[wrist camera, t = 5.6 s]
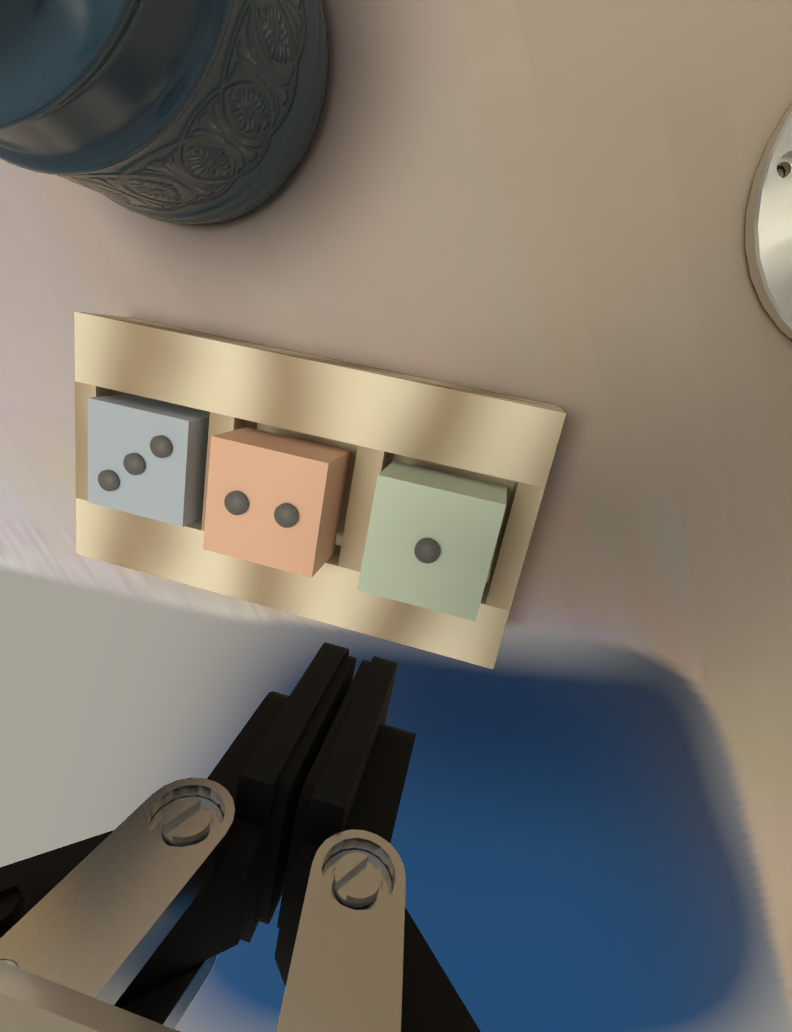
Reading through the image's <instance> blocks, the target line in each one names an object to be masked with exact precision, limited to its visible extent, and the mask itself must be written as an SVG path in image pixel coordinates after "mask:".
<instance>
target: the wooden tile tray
mask: <svg viewBox="0 0 792 1032" xmlns="http://www.w3.org/2000/svg"><path fill="white" fill-rule="evenodd" d="M74 318H75V431H76V544H77V554H79V555H82V556H86V557H90V558H93V559H97V560H101V561H104V562H108V563H111V564H115V565H119V566H122V567H126V568H129V569H133V570H137V571H140V572H144V573H147V574H151V575H155V576H158V577H162V578H166V579H169V580H173V581H176V582H180V583H184V584H187V585H191V586H194V587H198V588H202V589H205V590H209V591H212V592H216V593H220V594H223V595H227V596H231V597H234V598H238V599H241V600H245V601H249V602H252V603H256V604H259V605H263V606H267V607H270V608H274V609H277V610H281V611H285V612H288V613H292V614H296V615H299V616H303V617H306V618H310V619H314V620H317V621H321V622H324V623H328V624H332V625H335V626H339V627H342V628H346V629H350V630H353V631H357V632H361V633H364V634H368V635H371V636H375V637H379V638H382V639H386V640H389V641H393V642H397V643H400V644H404V645H408V646H411V647H415V648H418V649H422V650H426V651H429V652H433V653H436V654H440V655H444V656H447V657H451V658H454V659H458V660H462V661H465V662H469V663H473V664H476V665H480V666H483V667H487V668H491V669H493V668H494V665H495V661H496V657H497V654H498V650H499V647H500V644H501V640H502V636H503V633H504V630H505V626H506V623H507V619H508V616H509V612H510V609H511V605H512V602H513V598H514V595H515V591H516V588H517V584H518V581H519V577H520V574H521V570H522V567H523V563H524V560H525V556H526V553H527V549H528V546H529V542H530V539H531V535H532V532H533V528H534V525H535V521H536V518H537V514H538V511H539V507H540V504H541V500H542V497H543V493H544V490H545V486H546V483H547V479H548V476H549V473H550V469H551V466H552V462H553V459H554V455H555V452H556V448H557V445H558V441H559V438H560V434H561V431H562V427H563V424H564V420H565V417H566V412H565V411H563V410H562V409H561V408H560V407H559V406H557V405H552V404H547V403H543V402H538V401H533V400H528V399H523V398H518V397H513V396H508V395H504V394H499V393H494V392H489V391H484V390H479V389H474V388H470V387H465V386H460V385H455V384H450V383H445V382H440V381H435V380H431V379H426V378H421V377H416V376H411V375H406V374H401V373H396V372H392V371H387V370H382V369H377V368H372V367H367V366H362V365H358V364H353V363H348V362H343V361H338V360H333V359H328V358H323V357H319V356H314V355H309V354H304V353H299V352H294V351H289V350H284V349H280V348H275V347H270V346H265V345H260V344H255V343H250V342H246V341H241V340H236V339H231V338H226V337H221V336H216V335H211V334H207V333H202V332H197V331H192V330H187V329H182V328H177V327H172V326H168V325H163V324H158V323H153V322H148V321H143V320H138V319H134V318H129V317H120V316H111V315H102V314H92V313H83V312H74ZM123 394H134V395H138V396H142V397H147V398H151V399H156V400H160V401H164V402H169V403H173V404H178V405H182V406H186V407H191V408H195V409H200V410H204V411H208V412H210V417H209V431H208V445H207V459H206V473H205V486H204V500H203V514H202V517H201V518H199V519H197V520H195V521H193V522H191V523H189V524H187V525H185V526H184V527H181V526H177V525H173V524H169V523H165V522H161V521H158V520H154V519H150V518H146V517H142V516H139V515H135V514H131V513H127V512H123V511H119V510H116V509H112V508H108V507H104V506H100V505H96V504H93V503H89V502H88V398H90V397H101V396H112V395H123ZM244 427H248V428H253V429H257V430H261V431H266V432H270V433H274V434H279V435H283V436H287V437H292V438H296V439H301V440H305V441H309V442H314V443H318V444H322V445H327V446H331V447H336V448H340V449H344V450H349V451H350V455H349V462H348V468H347V474H346V480H345V487H344V493H343V499H342V505H341V512H340V518H339V524H338V530H337V537H336V543H335V549H334V554H333V555H332V556H331V557H330V558H329V559H328V560H327V561H326V563H325V564H324V565H323V566H322V567H321V568H320V569H319V570H318V572H317V573H316V574H315V575H314V576H313V577H312V578H310V577H306V576H302V575H298V574H295V573H291V572H287V571H283V570H280V569H276V568H272V567H268V566H265V565H261V564H257V563H253V562H250V561H246V560H242V559H238V558H235V557H231V556H227V555H223V554H219V553H216V552H212V551H208V550H204V549H203V541H204V528H205V514H206V501H207V487H208V473H209V460H210V446H211V436H213V435H217V434H221V433H225V432H229V431H232V430H236V429H240V428H244ZM393 461H397V462H401V463H405V464H410V465H414V466H419V467H423V468H427V469H432V470H436V471H440V472H445V473H449V474H453V475H458V476H462V477H467V478H471V479H475V480H480V481H484V482H488V483H493V484H497V485H502V486H506V487H507V499H506V508H505V512H504V516H503V520H502V524H501V527H500V531H499V535H498V539H497V542H496V546H495V550H494V554H493V558H492V561H491V565H490V569H489V573H488V576H487V580H486V584H485V588H484V591H483V595H482V599H481V603H480V607H479V610H478V614H477V618H476V622H475V621H471V620H468V619H464V618H460V617H456V616H453V615H449V614H445V613H441V612H438V611H434V610H430V609H426V608H423V607H419V606H415V605H411V604H408V603H404V602H400V601H396V600H392V599H389V598H385V597H381V596H377V595H374V594H370V593H366V592H362V591H359V590H357V588H358V582H359V576H360V571H361V565H362V560H363V554H364V549H365V543H366V537H367V532H368V526H369V521H370V515H371V510H372V504H373V498H374V493H375V487H376V482H377V476H378V474H379V473H380V472H382V471H383V470H384V469H385V468H386V467H387V466H388V465H389V464H391V463H392V462H393Z"/></svg>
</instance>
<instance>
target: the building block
mask: <svg viewBox="0 0 792 1032" xmlns="http://www.w3.org/2000/svg"><path fill="white" fill-rule="evenodd" d="M209 417H210V412H208V411H204V410H200V409H195V408H191V407H186V406H182V405H178V404H173V403H169V402H164V401H160V400H156V399H151V398H147V397H142V396H138V395H134V394H123V395H112V396H101V397H90V398H88V502H89V503H93V504H96V505H100V506H104V507H108V508H112V509H116V510H119V511H123V512H127V513H131V514H135V515H139V516H142V517H146V518H150V519H154V520H158V521H161V522H165V523H169V524H173V525H177V526H181V527H184V526H185V525H187V524H189V523H191V522H193V521H195V520H197V519H199V518H201V517H202V514H203V500H204V486H205V473H206V459H207V445H208V431H209Z"/></svg>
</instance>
